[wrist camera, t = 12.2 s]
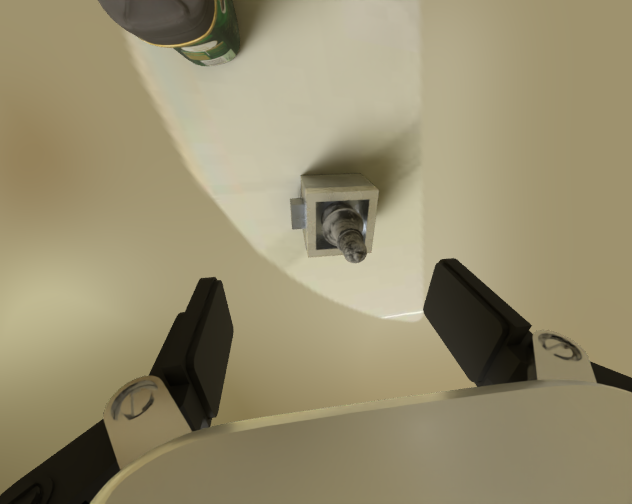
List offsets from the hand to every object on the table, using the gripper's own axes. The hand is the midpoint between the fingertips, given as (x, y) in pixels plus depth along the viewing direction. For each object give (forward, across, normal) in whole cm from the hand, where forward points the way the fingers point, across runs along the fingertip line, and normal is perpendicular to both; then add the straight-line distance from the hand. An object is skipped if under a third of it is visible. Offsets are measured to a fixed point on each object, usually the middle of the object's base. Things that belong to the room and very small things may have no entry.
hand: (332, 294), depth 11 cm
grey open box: (+33, -5, +9) cm, 35 cm away
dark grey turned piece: (+26, -6, +8) cm, 28 cm away
